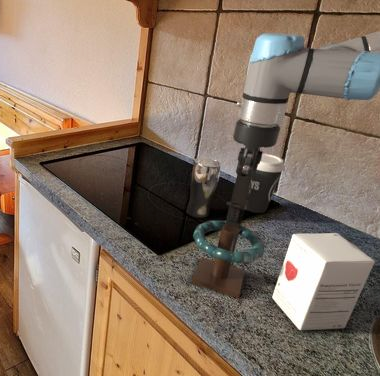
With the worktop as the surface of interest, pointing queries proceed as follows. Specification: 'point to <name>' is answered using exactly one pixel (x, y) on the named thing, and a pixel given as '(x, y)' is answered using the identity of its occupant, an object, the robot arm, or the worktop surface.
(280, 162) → the coffee cup
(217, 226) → the ring
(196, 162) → the beer glass
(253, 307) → the worktop surface
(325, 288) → the rectangular carton
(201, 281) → the post
